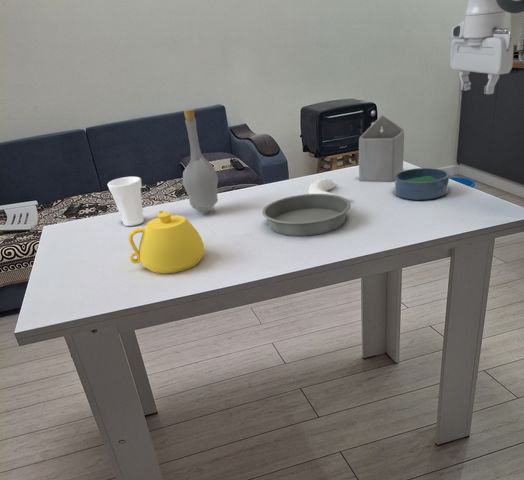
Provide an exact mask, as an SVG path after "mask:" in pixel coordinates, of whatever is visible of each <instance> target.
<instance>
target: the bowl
mask: <svg viewBox="0 0 524 480" xmlns="http://www.w3.org/2000/svg"><path fill="white" fill-rule="evenodd" d="M425 176H431V177H433V178H435V179H438V180H436V181H430V182H409V181H405V180H409V179H414V178H420V177H425ZM449 180H450V174H449V172H448V171H446V170H444V169H440V168H433V167H418V168H410V169H406V170H403V171H402V172H400V173H398V174H397V175H396V176H395V180H394V194H395V195H396V196H397V197H400V198H403V199H406V200H410V201H411V200H413V201H428V200H434V199H436V198H440V197H443V196H445V195H446V194H447V193H448V192H449V182H450V181H449Z"/></svg>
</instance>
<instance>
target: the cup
mask: <svg viewBox="0 0 524 480" xmlns="http://www.w3.org/2000/svg"><path fill="white" fill-rule="evenodd" d="M107 188H108V190H109V192H110V193H111V195H112V197H113V200H114V203H115V205H116V209H117V211H118V213H119V216H120V218H121V220H122V222H123V225H124V226H125V227H133V226H136V225H140V224H142V223H144V221H145V219H144V209H143V200H142V178H141V177H139V176H124V177H119V178H114V179H112V180H110V181H108V183H107Z"/></svg>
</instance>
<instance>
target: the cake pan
mask: <svg viewBox="0 0 524 480" xmlns="http://www.w3.org/2000/svg"><path fill="white" fill-rule="evenodd" d="M345 198H346V197H343V196H340V195H336V194H334V195H330V194H308V193H305V194H297V195H292V196H291V195H290V196H287V197H284V198H279V199H277V200H274V201H271V202H269V204H267V205H266V206H265V207H264V208H263V209H262V212H261V214H262V216H263V218H265V219H266V220H267V222H268V226H269V229H271V230H272V231H273V232H275V233H277V234H281V235H284V236H292V237H306V236H316V235H322V234H325V233H328V232H332V231H334V230H337V229H338V228H340V227H341V226H343V225H344V224H345V221H346V216H347V212H348V211H350V209H351V202H350V200H349V199H347V198H346V199H345Z"/></svg>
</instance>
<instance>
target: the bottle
mask: <svg viewBox="0 0 524 480" xmlns="http://www.w3.org/2000/svg"><path fill="white" fill-rule="evenodd" d="M183 113H184V114H183V115H184V118H185V120H184V122H185V126H186V129H187V136H188V141H189V148H190V160H189V162H188V163H187V165H186V166H185V168H184V170H183V172H182V186H183V188H184V190H185V192H186V194H187V198H188V202H189V205H190V206H191V207H192V209H194V210H196V211H198V212H199V213H202V214H207V213H209V212H211V210H212V209H213V208H214V206H215V205H216V204H217V203H218V202H219V199H218V183H219V177H218V173H217V171H216V169H215V167H214V166H213V165H212V164H211V162H210V161H208V160H207V159H206V158H205V157H204V156H203V154H202V151H201V147H200V142H199V137H198V130H197V119H196V117H195V116H196V115H195V109H194V108H188V109H184V110H183Z"/></svg>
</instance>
